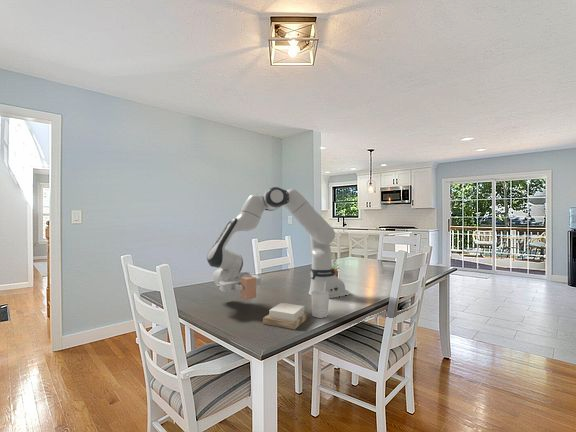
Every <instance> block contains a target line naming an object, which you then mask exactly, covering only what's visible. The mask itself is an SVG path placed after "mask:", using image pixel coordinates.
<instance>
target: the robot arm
mask: <svg viewBox="0 0 576 432" xmlns="http://www.w3.org/2000/svg"><path fill="white" fill-rule="evenodd" d="M281 207H284V208H286V209H287V210H288V211H289V212H290V214H291V215H292V216H293V217H294V219H296V221H297V222H298V223H299V224H300V225H301V226H302V227H303V228H304V229H305V230H306V232H308V233H309V239H310V240H309V241H310V250H311V268H310V284H309V285H310V286H309V291H308V294H309V296H311V292H312V291H326V292H329V299H333V298H339V296H340V297H345V295H347V296H350V295H349V294H350V291H349V290H347V289H346V284H345V282H344V281H343V280H342V279H340V278H339V277H338V276H337V274H338V273H339V270H338V269H334V268H332V267H333V266H332V265H333V264H332V263H333V261H332V258H333V257H332V256H333V255H332V249H331V243H332V242H333V241H334V240H335V237H336V231H335V230H334V228H333V227H332V225H330V224H329V222H327V221H326V220H325V219H324V217H323V216H321V215H320V214H319V213H318V211H317V210H316V209H315V208H314V207H313V206H312V205H311V204H310V202H309V201H308V199H306V198H305V197H304V196H303V195H302V194H301V193H300V192H299V191H298V190H296V189H295V188H289V189H287V190H286V189H284V188H281V187H277V186H273V187H270V188H269V189H268V190H266V191H265V192H264V193H263V194H262V195H258V194H251V195H249V196H248V197H247V198H246V200H245V201H244V203H243V205H242V207H241V209H240V212H239V213H238V214H237V216H236V217H234V218H233V217H232V218H231V219H230V220H229V222H228V223H227V224H226V225H225V227H224V229H223V230H222V232H221V233H220V235H219V236H218V238H217V240H216V242H215V243H214V244H213V246H212V247H211V248H210V249H209V251H208V252H207V255H206V260H207V263H208V264H209V266H210V267H212V268H217V269H215V270H214V271H213V273H212V280H213V282H214V283H215V287H216V288H218V290H219V291H221V292H223V293H228V292H237V291H239V290H240V291H241V290H244V289H245V286H244V285H241V277H246V276H252V277H256V288H257V287H258V286H261V284H262V278H261V277H260V276H259V275H255V274H252V273H250V272H241V271H243V265H244V260H243V256H242V255H241V254H239V253H237V252H234V251H230V250H229V249H226V246H227V245H228V243H229V241H230V240H231V238H232V236H233V235H234V234H235V233H238V232H250V231H253V230H255V229H256V228H257V227H258V225H259V223H260V220H261V218H262V215H263V213H264V211H270V212H272V211H273V212H274V211H275V210H278V209H279V208H281Z"/></svg>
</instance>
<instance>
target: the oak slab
mask: <svg viewBox="0 0 576 432" xmlns="http://www.w3.org/2000/svg"><path fill="white" fill-rule="evenodd" d="M308 315H309V313H308V312H305V311H304V314H303V315H301V316H300V317H299V318H298V319H297V320H295V321H294V322H293V321H287V320H281V319H275V318H270V317H269V313H268V314H267V315H265V316H264V317H262V324H263V325H269V326H274V327H279V328H284V329H288V330H289V329H291V330H293V331H294V330H296V329H297V328H298V327H299V326H300V325H301V324H302V323H304V322H305V321H306V320H307V319H308V318H309V316H308Z"/></svg>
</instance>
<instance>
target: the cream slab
mask: <svg viewBox="0 0 576 432" xmlns="http://www.w3.org/2000/svg"><path fill="white" fill-rule="evenodd" d="M268 311H269V313H268V314H269V317H270V318H275V319H281V320H287V321H293V322H294V321H295V320H297V319H298V318H299V317H300V316H301V315H303V314H304V312H305V305H299V304H293V303H285V302H280V303H278V304H277V305H275V306H273V307H272V308H271V309H269V310H268Z"/></svg>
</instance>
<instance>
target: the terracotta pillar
mask: <svg viewBox="0 0 576 432" xmlns="http://www.w3.org/2000/svg"><path fill="white" fill-rule="evenodd" d="M241 285H244V286H245V289H244V290H240V298H242V299H244V300H246V301H247V300H248V301H249V300H251V299H257V287H256V277H252V276H246V277H241Z"/></svg>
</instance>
